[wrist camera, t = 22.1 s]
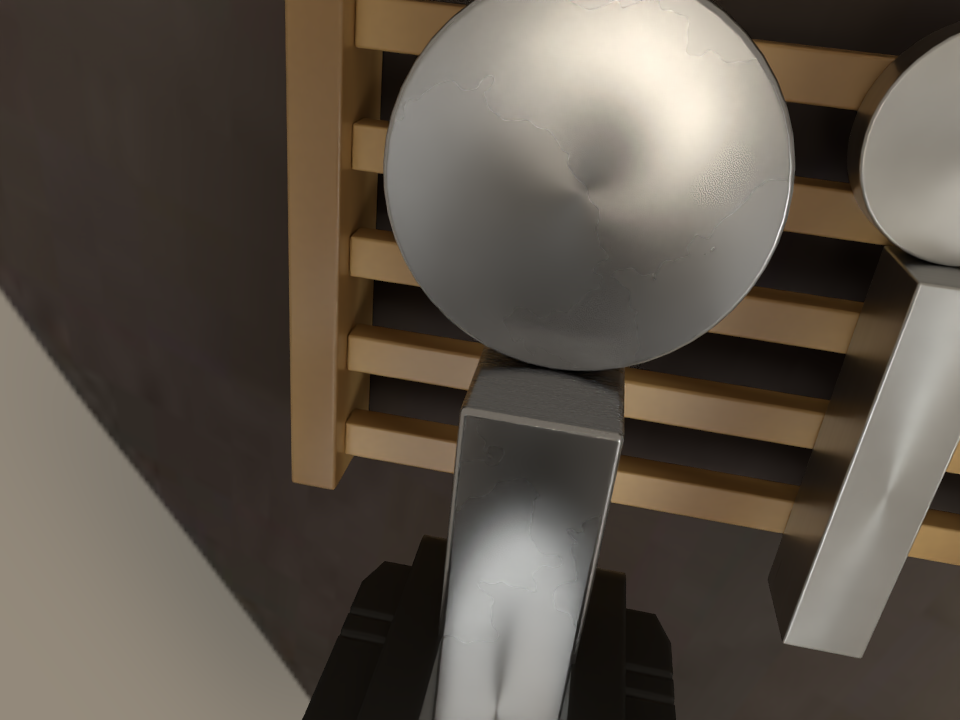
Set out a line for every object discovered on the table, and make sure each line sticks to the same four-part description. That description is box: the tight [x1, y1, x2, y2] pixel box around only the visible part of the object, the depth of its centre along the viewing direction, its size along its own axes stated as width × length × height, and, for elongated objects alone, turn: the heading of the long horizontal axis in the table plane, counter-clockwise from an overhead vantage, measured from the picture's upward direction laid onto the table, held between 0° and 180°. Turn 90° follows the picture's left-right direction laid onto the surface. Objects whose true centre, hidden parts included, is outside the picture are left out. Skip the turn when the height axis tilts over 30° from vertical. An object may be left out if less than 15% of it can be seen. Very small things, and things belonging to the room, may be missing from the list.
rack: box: [285, 0, 960, 566], centre depth 18 cm, size 20×12×3 cm, turn 84°
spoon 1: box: [383, 0, 795, 720], centre depth 10 cm, size 13×4×2 cm, turn 174°
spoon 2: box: [768, 21, 960, 658], centre depth 16 cm, size 13×4×2 cm, turn 175°
